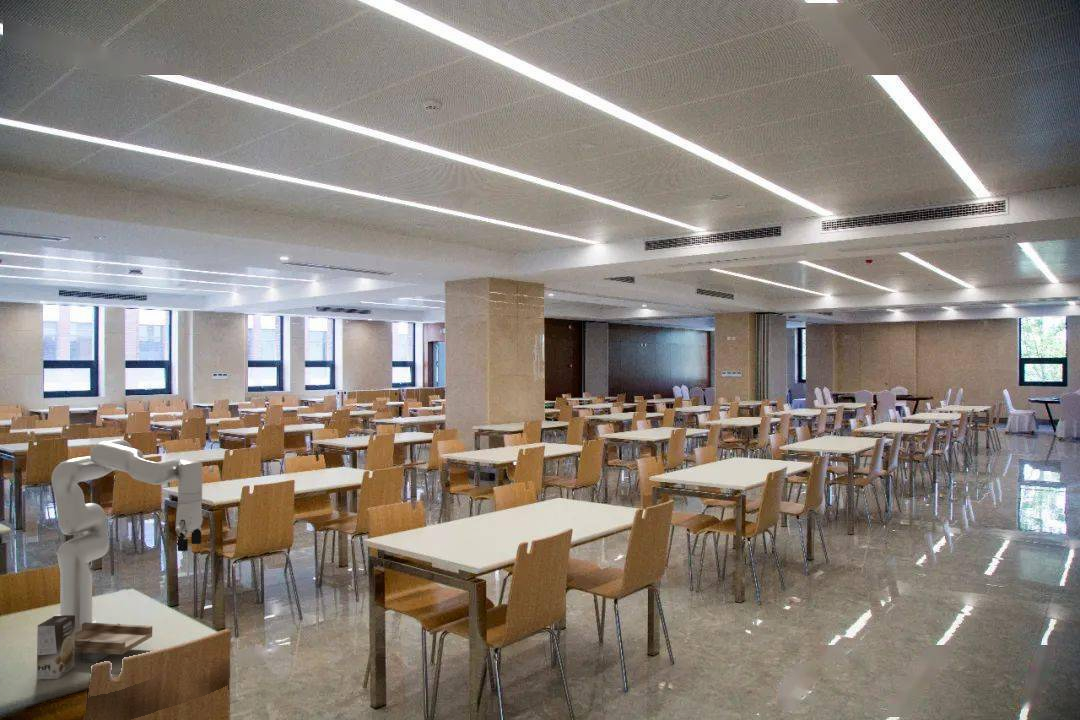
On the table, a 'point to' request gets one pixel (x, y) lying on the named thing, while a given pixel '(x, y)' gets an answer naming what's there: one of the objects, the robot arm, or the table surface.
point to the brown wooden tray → (109, 639)
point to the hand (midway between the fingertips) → (189, 547)
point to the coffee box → (55, 647)
